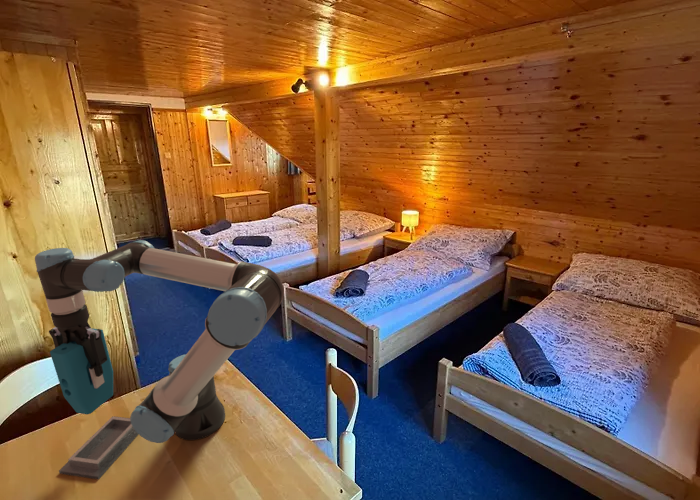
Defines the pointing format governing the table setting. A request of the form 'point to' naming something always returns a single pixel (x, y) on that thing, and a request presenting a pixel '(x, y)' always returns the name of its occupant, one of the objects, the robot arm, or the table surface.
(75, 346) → the block
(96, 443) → the grey rectangular tray
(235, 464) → the table surface
